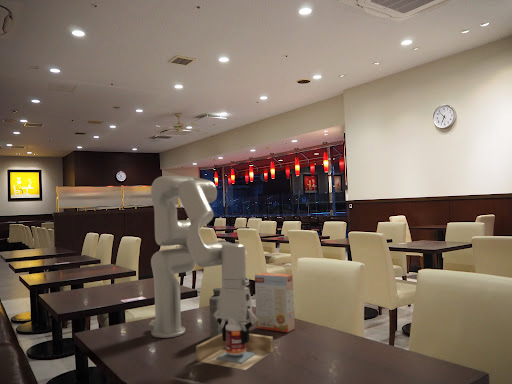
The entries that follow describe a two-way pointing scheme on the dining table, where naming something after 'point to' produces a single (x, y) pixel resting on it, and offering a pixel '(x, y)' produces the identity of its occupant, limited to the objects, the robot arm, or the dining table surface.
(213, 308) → the flask
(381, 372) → the dining table surface
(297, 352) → the dining table surface
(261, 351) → the wooden corner stand
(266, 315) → the cracker box
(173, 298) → the robot arm
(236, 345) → the pill bottle
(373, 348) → the dining table surface
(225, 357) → the slate pad
